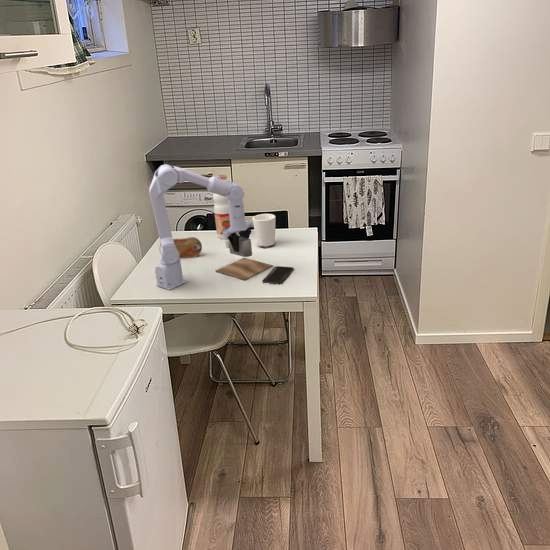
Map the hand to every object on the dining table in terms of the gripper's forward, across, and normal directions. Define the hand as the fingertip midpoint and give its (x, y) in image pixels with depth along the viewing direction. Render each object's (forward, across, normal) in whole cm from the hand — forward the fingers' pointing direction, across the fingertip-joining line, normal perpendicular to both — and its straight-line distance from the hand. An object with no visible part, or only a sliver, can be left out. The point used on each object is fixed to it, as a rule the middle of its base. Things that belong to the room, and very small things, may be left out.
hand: (240, 249), depth 218 cm
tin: (+9, -2, +32) cm, 33 cm away
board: (+9, +1, 0) cm, 9 cm away
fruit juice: (+9, +26, +35) cm, 45 cm away
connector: (+2, 0, 0) cm, 2 cm away
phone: (+9, +3, -16) cm, 19 cm away
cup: (+9, +26, +11) cm, 30 cm away
